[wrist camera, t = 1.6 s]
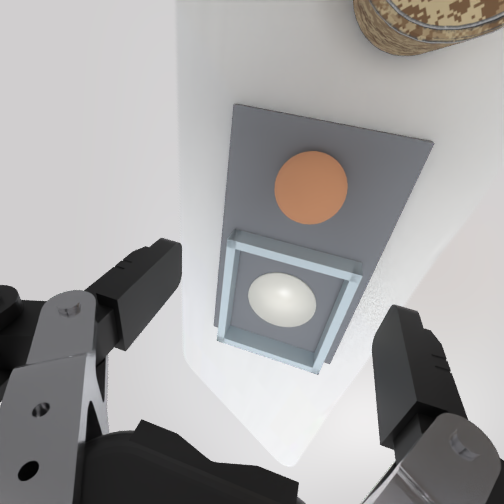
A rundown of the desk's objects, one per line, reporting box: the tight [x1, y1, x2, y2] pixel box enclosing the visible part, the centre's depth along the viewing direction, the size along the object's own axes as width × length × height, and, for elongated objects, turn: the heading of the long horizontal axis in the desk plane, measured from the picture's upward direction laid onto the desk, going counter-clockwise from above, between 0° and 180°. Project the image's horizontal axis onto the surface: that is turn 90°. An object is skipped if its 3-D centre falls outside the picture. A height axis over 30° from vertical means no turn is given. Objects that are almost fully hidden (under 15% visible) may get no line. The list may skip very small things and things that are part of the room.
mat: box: [214, 104, 434, 364], centre depth 27 cm, size 24×14×1 cm, turn 172°
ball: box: [274, 151, 348, 224], centre depth 20 cm, size 5×5×5 cm
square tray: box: [217, 229, 363, 375], centre depth 29 cm, size 14×12×2 cm
